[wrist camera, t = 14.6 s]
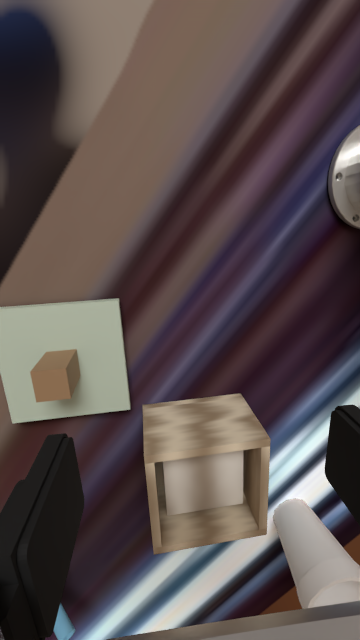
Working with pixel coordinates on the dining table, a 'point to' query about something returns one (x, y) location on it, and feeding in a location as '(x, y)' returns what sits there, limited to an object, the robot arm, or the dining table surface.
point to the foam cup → (315, 557)
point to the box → (205, 472)
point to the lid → (63, 359)
